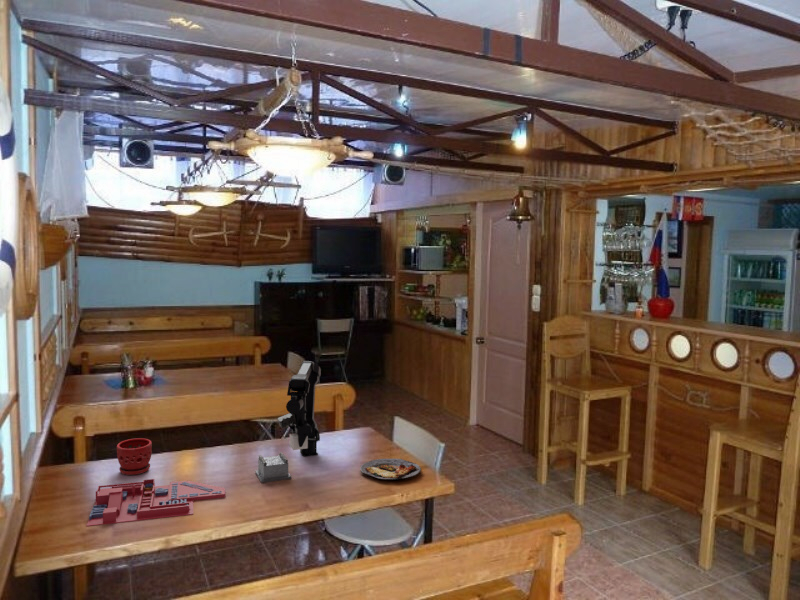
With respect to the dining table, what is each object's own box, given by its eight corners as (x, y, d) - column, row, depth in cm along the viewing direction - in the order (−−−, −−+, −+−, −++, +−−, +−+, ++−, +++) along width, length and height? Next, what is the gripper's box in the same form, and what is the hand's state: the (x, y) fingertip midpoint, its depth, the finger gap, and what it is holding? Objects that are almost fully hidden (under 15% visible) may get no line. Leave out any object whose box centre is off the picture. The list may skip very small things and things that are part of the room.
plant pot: (112, 470, 251) (112, 442, 250) (145, 463, 260) (145, 436, 259) (123, 479, 241) (122, 450, 240) (156, 472, 250) (156, 443, 249)
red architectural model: (228, 511, 216) (228, 495, 215) (86, 529, 200) (85, 512, 200) (221, 480, 244) (221, 466, 244) (96, 494, 228) (96, 479, 228)
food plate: (431, 472, 255) (431, 464, 255) (393, 488, 238) (393, 479, 238) (388, 459, 272) (388, 452, 272) (349, 473, 255) (349, 465, 255)
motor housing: (282, 467, 259) (283, 449, 258) (291, 478, 246) (291, 460, 246) (254, 471, 254) (254, 453, 253) (261, 482, 241) (261, 464, 241)
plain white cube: (303, 444, 258) (303, 432, 258) (307, 448, 253) (307, 436, 252) (289, 445, 256) (289, 434, 255) (293, 450, 250) (293, 438, 250)
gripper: (273, 404, 258) (273, 440, 259) (285, 414, 241) (285, 453, 242) (299, 401, 263) (299, 437, 264) (312, 412, 246) (312, 450, 247)
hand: (298, 444), depth 254 cm, fingers closed on plain white cube, 6 cm apart
